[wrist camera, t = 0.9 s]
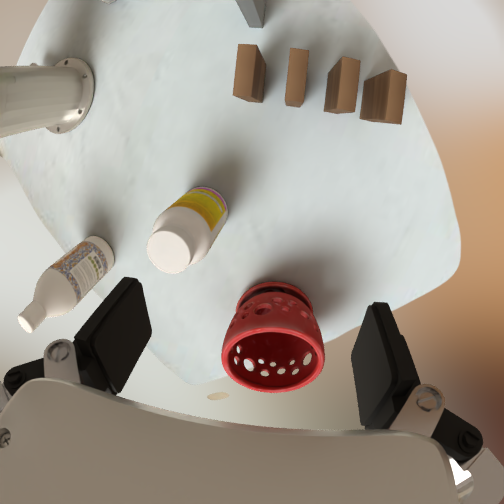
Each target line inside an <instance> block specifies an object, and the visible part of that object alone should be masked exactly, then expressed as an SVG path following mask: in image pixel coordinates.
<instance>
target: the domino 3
mask: <svg viewBox="0 0 504 504" xmlns="http://www.w3.org/2000/svg"><path fill="white" fill-rule="evenodd" d="M359 72H360V60H356V59H352V58H347V57H342V58H341V59H340V60H339V61H338V62H337V64H336V65H335V66H334V67H333V68H332V69H331V71H330V72H329V73H328V79H327V88H326V97H325V105H324V112H330V113H335V114H340V113H352V112H355V107H356V99H357V91H358V82H359Z"/></svg>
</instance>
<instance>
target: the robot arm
mask: <svg viewBox="0 0 504 504" xmlns="http://www.w3.org/2000/svg"><path fill="white" fill-rule="evenodd" d="M93 91H94V80H93V75H92V72H91V69H90V68H89V66H88V64H87V63H85V62H84V61H83V60H81V59H78V58H66V59H63V60H61V61H59V62H58V63H57V64H55V65H54V66H38V65H37V64H36V63H32V64H31V65H30V66H5V67H0V138H3V137H6V136H10V135H14V134H18V133H22V132H26V131H30V130H35V129H39V128H44V127H46V128H47V129H48V130H49V131H50V132H52V133H55V134H62V133H67V132H69V131H71V130H73V129H75V128H76V127H77V126H78V125H79V124H80V123H81V122H82V120H83V119H84V118H85V116H86V114H87V112H88V110H89V108H90V105H91V102H92V98H93ZM151 334H152V328H151V324H150V320H149V316H148V311H147V307H146V302H145V297H144V293H143V288H142V284H141V283H140V282H139V281H138V279H136V278H130V277H124V278H123V279H122V280H121V281H120V282H119V283H118V284H117V285H116V287H115V288H114V289H113V290H112V291H111V292H110V294H109V295H108V296H107V297H106V298H105V299H104V301H103V302H102V303H101V304H100V306H99V307H98V308H97V309H96V310H95V311H94V313H93V314H92V315H91V316H90V318H89V319H88V320H87V321H86V323H85V324H84V325H83V326H82V328H81V329H80V330H79V331H78V333H77V334H76V335H75V336H74V338H75V340H74V341H73V342H71V341H69V340H67V339H59V340H56V341H53V342H52V343H50V344H49V345H48V346H47V348H46V349H45V351H44V358H41V359H38V360H35V361H32V362H29V363H25V364H22V365H19V366H16V367H13V368H11V369H10V370H9V371H8V372H7V373H6V375H5V377H4V383H2V382H1V381H0V504H498V503H499V502H500V501H501V499H502V498H503V497H504V467H503V466H502V465H501V463H500V462H499V461H498V460H497V459H496V457H495V456H494V455H493V454H492V453H491V452H490V450H489V449H488V448H485V449H483V447H482V445H483V439H482V435H481V433H480V431H479V430H478V429H477V428H475V427H474V426H472V425H471V424H469V423H468V422H466V421H464V420H463V419H461V418H460V417H458V416H456V415H455V414H453V413H452V412H450V411H449V410H447V409H445V408H444V407H445V397H444V395H443V393H442V392H441V390H440V389H438V388H437V387H436V386H433V385H431V384H421V383H420V380H419V377H418V374H417V371H416V368H415V365H414V363H413V360H412V357H411V354H410V351H409V349H408V346H407V343H406V341H405V339H404V336H403V335H400V332H399V330H398V327H397V324H396V322H395V319H394V317H393V314H392V312H391V309H390V307H389V305H388V303H384V302H374V303H373V304H372V305H369V306H368V308H367V311H366V314H365V317H364V320H363V323H362V326H361V328H360V331H359V334H358V337H357V340H356V342H355V345H354V348H353V350H352V354H351V361H352V367H353V373H354V380H355V385H356V392H357V400H358V407H359V415H360V422H361V425H363V426H365V430H304V429H287V428H273V427H262V426H254V425H245V424H237V423H230V422H224V421H218V420H212V419H206V418H201V417H196V416H191V415H186V414H182V413H177V412H173V411H168V410H165V409H160V408H157V407H153V406H149V405H146V404H142V403H138V402H135V401H132V400H128V399H125V398H122V397H119V396H116V395H117V393H120V392H121V391H122V389H123V387H124V385H125V383H126V382H127V380H128V378H129V376H130V374H131V372H132V370H133V368H134V367H135V364H136V363H137V361H138V359H139V357H140V355H141V353H142V352H143V350H144V348H145V346H146V344H147V343H148V341H149V339H150V337H151Z"/></svg>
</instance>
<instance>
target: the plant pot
mask: <svg viewBox="0 0 504 504" xmlns="http://www.w3.org/2000/svg"><path fill="white" fill-rule="evenodd" d="M237 346H238V347H239V349H240V353H238V352H237ZM309 353H311V354H312V358H311V362H310V363H309V364H308V365H303V360H304V358H305V356H306V355H307V354H309ZM234 357H235V358H236V360H237V365H236V364H235V362H234ZM221 358H222V364H223V367H224V369H225V371H226V373H227V374H228V375H229V376H230V377H231V378H232V379H233V380H234V381H236V382H237V383H239V384H240V385H242V386H245V387H247V388H249V389H252V390H256V391H260V392H269V393H278V392H287V391H292V390H296V389H299V388H301V387H303V386H305V385H307V384H309V383H311V382H312V381H313V380H314V379H315V378H316V377H317V376H318V375H319V374H320V372H321V371H322V369H323V366H324V362H325V353H324V344H323V340H322V335H321V331H320V329H319V326H318V324H317V321H316V319H315V317H314V315H313V308H312V305H311V302H310V300H309V299H308V297H307V296H306V295H305V294H304V293H303V292H302V291H301V290H300V289H298V288H297V287H295V286H293V285H290V284H287V283H283V282H266V283H261V284H258V285H256V286H254V287H252V288H250V289H249V290H248V291H246V292H245V293H244V294H243V295H242V297H241V298H240V300H239V301H238V303H237V306H236V314H235V315H234V317H233V319H232V321H231V323H230V325H229V328H228V330H227V333H226V335H225V339H224V342H223V347H222V354H221ZM244 359H248V360H249V361H251V362H252V363H253V366H254V369H253V371H248V370H247V369H246V368H245V366H244ZM259 359H262V360H263V361H264V364H260V363H259V362H258V360H259ZM292 360H295V362H294V364H292V365H290V362H291V361H292ZM271 362H275V363H276V366H274V367H272V366H270V363H271ZM282 368H284V369H285V370H286V371H285V373H283V374H278V373H277V371H278V370H279V369H282ZM295 369H299V372H298V373H297V374H295V375H292V372H293V371H294V370H295ZM261 371H266V372H268V373H269V375H268V376H262V375H261V374H260V372H261Z"/></svg>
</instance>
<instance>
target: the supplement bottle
mask: <svg viewBox="0 0 504 504" xmlns="http://www.w3.org/2000/svg"><path fill="white" fill-rule="evenodd" d="M227 215H228V209H227V205H226V202H225V200H224V198H223V197H222V196H221V195H220V194H219V193H218V192H217V191H215V190H213V189H211V188H208V187H197V188H194V189H191V190H190V191H188V192H187V193H186V194H184V195H183V196H182V197H181V198H179V199H178V200H177V201H176V202H175V203H173V204H172V205H171V206H170V207H169V208H167V209H166V210H165V211H164V212H163V213H161V214H160V215H159V217H158V218H157V219H156V221H155V223H154V226H153V233H152V235H151V236H150V238H149V240H148V243H147V253H148V256H149V258H150V260H151V262H152V263H153V264H154V265H155V266H156V267H157V268H158V269H160V270H162V271H164V272H166V273H172V274H175V273H179V272H182V271H184V270H185V269H186V268H187V267H188V265H193V264H196V263H198V262H199V261H201V260H202V259H203V258H204V257H205V256H206V254H207V253H208V251H209V249H210V248H211V246H212V244H213V242H214V241H215V239H216V237H217V236H218V234H219V232H220V231H221V229H222V227H223V226H224V224H225V222H226V219H227Z"/></svg>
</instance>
